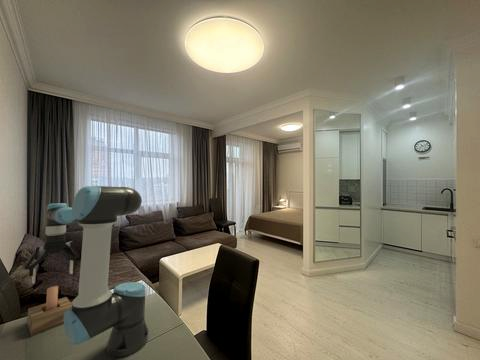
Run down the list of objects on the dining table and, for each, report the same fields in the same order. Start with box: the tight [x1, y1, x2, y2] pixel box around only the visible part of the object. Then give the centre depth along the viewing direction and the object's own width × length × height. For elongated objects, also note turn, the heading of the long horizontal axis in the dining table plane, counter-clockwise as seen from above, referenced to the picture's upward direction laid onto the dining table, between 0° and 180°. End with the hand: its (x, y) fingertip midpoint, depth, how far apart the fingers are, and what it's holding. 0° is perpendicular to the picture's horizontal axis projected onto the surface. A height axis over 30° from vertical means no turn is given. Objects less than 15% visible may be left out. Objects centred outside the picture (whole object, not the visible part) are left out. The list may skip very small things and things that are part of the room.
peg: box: [45, 285, 59, 311], centre depth 96 cm, size 4×4×15 cm
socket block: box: [26, 296, 72, 338], centre depth 95 cm, size 14×14×7 cm
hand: (53, 277), depth 97 cm, fingers open, 13 cm apart
